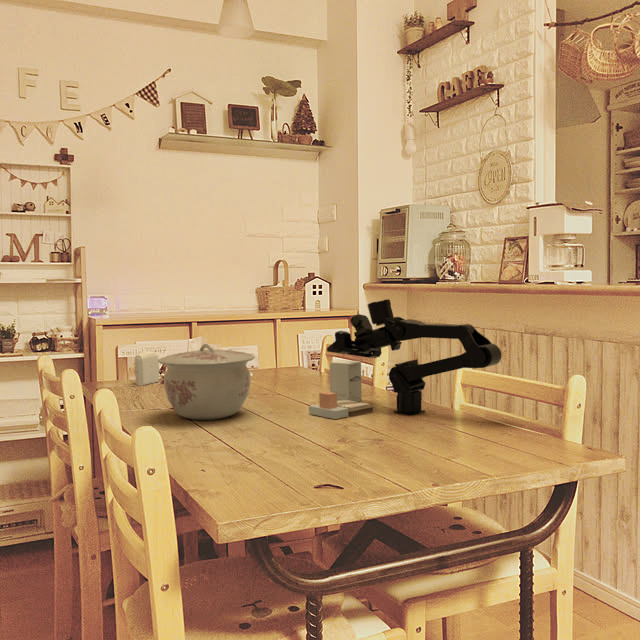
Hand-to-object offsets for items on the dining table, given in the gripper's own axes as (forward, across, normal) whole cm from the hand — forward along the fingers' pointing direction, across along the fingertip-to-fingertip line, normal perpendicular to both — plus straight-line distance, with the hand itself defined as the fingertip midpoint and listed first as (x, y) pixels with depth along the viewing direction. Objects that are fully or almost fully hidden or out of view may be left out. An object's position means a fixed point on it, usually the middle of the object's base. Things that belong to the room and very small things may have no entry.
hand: (337, 351), depth 209 cm
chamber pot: (+25, +31, +16) cm, 43 cm away
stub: (-3, +12, +20) cm, 24 cm away
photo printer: (+88, +6, -8) cm, 89 cm away
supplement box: (+5, -7, +14) cm, 17 cm away
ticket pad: (-4, +5, +20) cm, 21 cm away
